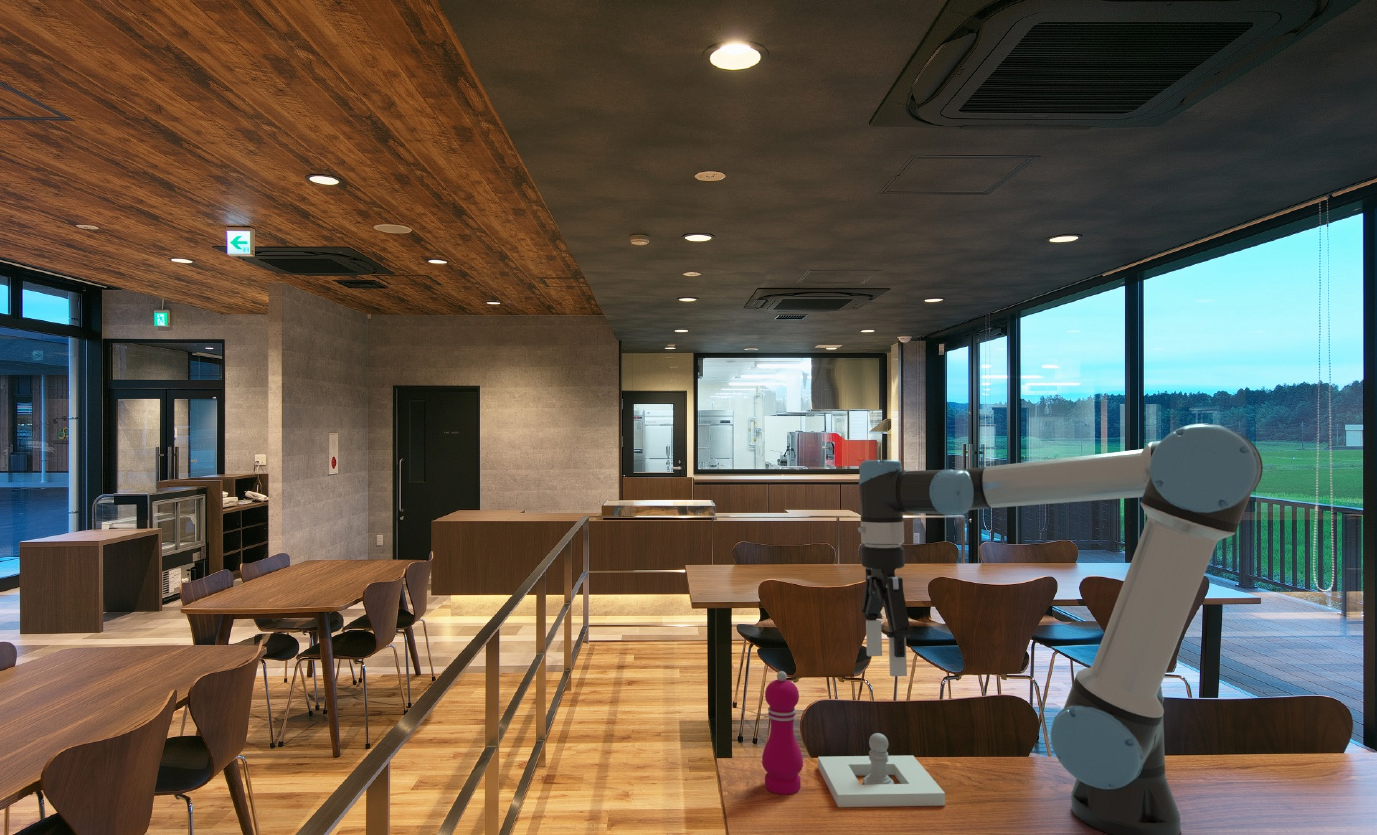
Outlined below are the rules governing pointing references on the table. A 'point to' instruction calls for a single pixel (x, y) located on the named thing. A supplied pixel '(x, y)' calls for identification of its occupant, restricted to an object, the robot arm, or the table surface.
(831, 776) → the socket board
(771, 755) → the pepper mill
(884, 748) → the chess piece
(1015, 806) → the table surface
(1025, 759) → the table surface
